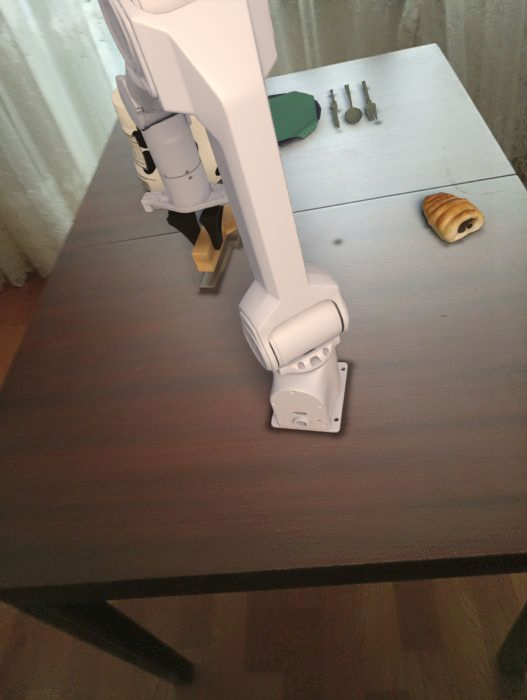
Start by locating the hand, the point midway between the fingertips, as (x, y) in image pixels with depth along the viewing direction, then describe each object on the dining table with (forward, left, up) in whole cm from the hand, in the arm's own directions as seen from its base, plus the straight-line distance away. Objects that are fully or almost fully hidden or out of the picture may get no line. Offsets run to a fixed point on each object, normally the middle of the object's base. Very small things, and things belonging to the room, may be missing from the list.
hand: (210, 245), depth 74 cm
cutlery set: (+40, -6, -4) cm, 41 cm away
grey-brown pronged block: (+2, 0, -4) cm, 5 cm away
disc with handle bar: (+3, 0, -2) cm, 3 cm away
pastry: (+8, -34, -4) cm, 35 cm away
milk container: (+23, +12, -4) cm, 27 cm away
